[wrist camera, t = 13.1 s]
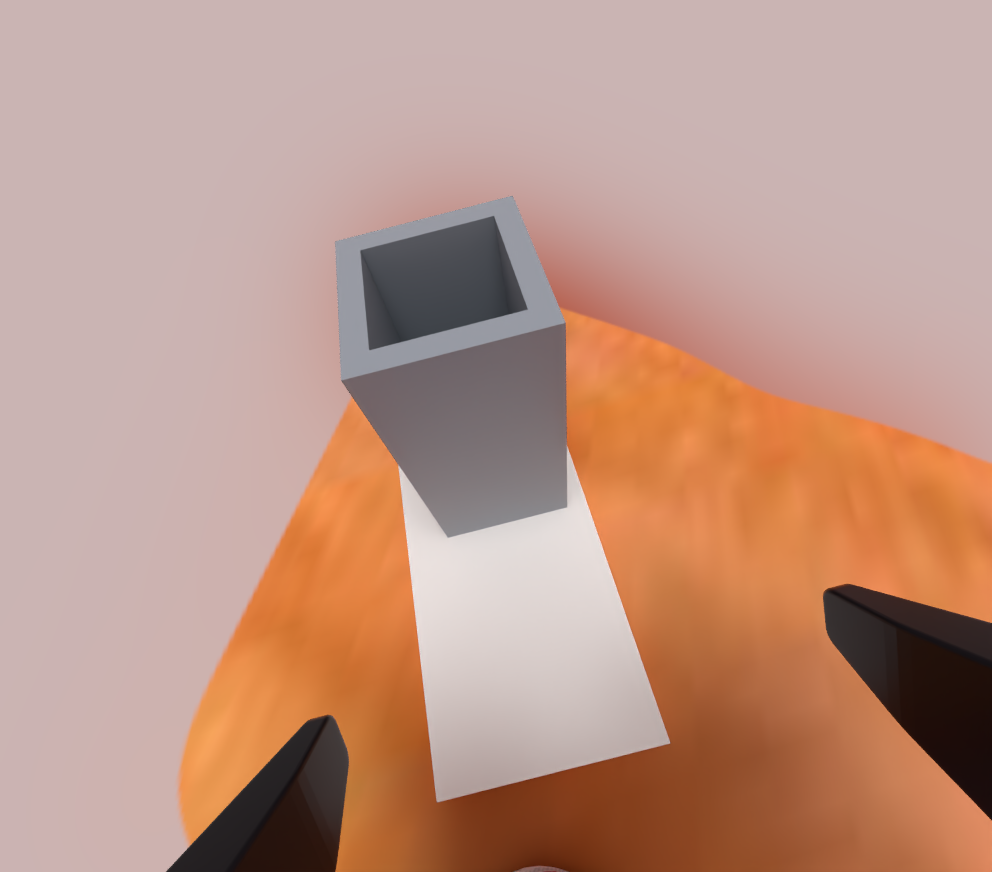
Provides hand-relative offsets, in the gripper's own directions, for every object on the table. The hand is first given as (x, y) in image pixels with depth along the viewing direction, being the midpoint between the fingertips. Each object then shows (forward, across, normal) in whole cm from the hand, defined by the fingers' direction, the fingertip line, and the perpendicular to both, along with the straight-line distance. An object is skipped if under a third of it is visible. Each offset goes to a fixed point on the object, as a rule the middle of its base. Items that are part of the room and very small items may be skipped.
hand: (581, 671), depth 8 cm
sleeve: (+16, +1, +1) cm, 16 cm away
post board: (+14, +1, +5) cm, 15 cm away
